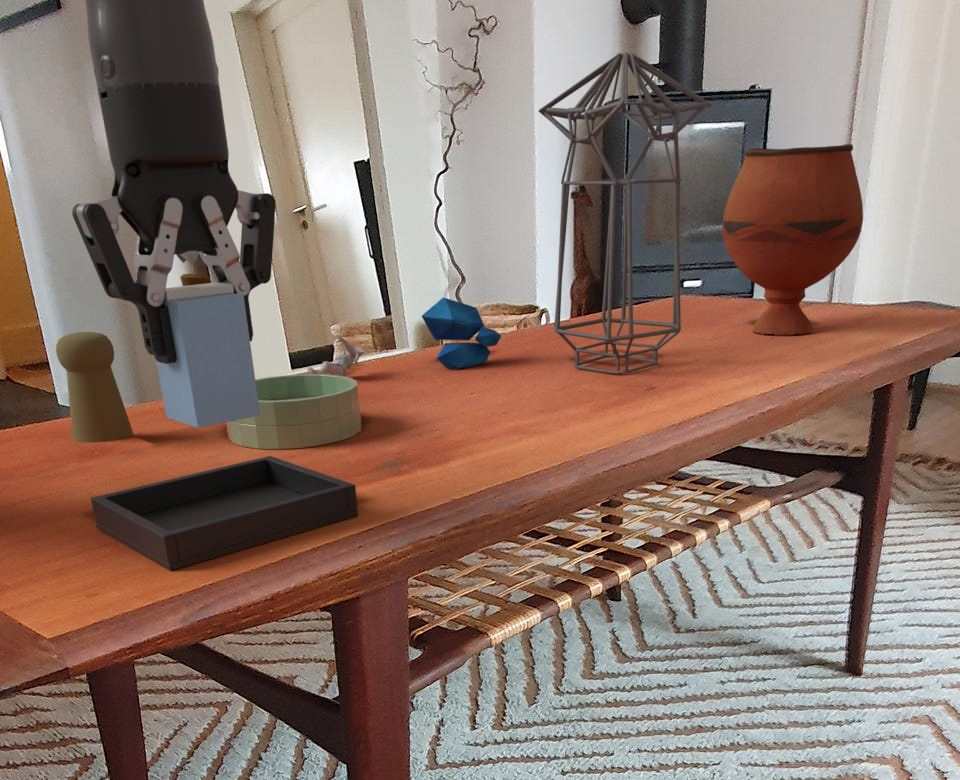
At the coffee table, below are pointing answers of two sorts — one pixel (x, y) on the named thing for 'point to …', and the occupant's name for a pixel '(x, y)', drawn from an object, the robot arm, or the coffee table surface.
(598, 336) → the geometric lantern
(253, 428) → the bowl
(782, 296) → the goblet
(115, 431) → the cork
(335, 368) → the seated figurine
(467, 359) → the crystal
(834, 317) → the coffee table surface
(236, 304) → the carton
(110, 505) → the tray
